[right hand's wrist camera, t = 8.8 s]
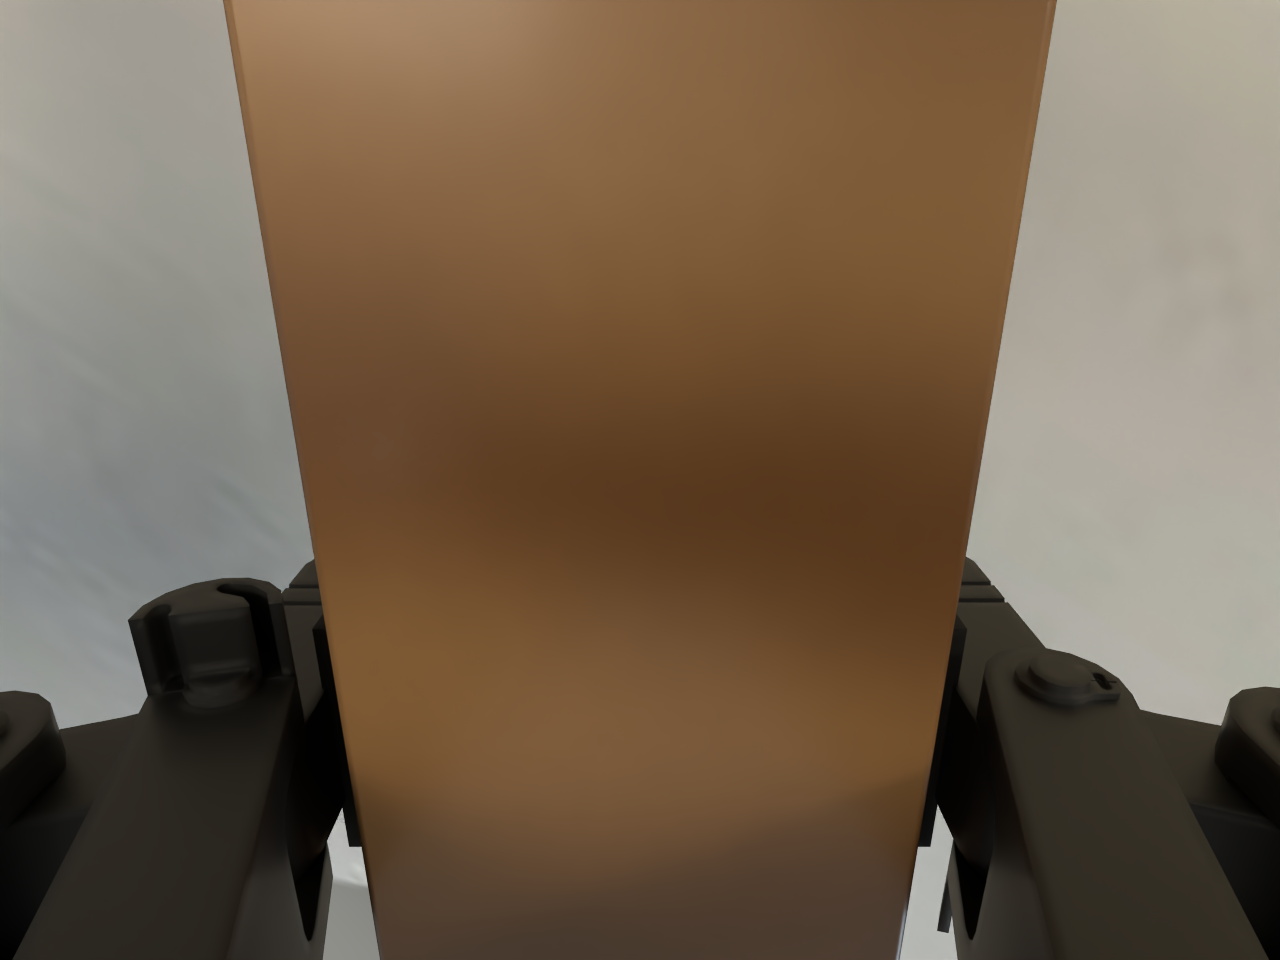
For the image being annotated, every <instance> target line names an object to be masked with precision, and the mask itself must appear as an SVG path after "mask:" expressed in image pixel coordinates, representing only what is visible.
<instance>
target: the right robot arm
mask: <svg viewBox="0 0 1280 960" xmlns="http://www.w3.org/2000/svg"><path fill="white" fill-rule="evenodd" d="M128 622H129V626H130V630H131V634H132V637H133V641H134V645H135V649H136V652H137V656H138V660H139V664H140V668H141V671H142V675H143V679H144V683H145V686H146V690H147V694H148V696H147V698H146V700H145V702H144V704H143V706H142V708H141V710H140V712H139V713H138V714H134V715H130V716H126V717H122V718H117V719H112V720H106V721H101V722H96V723H91V724H86V725H80V726H75V727H70V728H65V729H59V728H58V725H57V722H56V719H55V716H54V713H53V710H52V706H51V703H50V702H48V701H47V700H46V699H44V698H43V697H42V696H40V695H39V694H36V693H29V692H22V691H7V692H0V960H323V952H324V944H325V936H326V928H327V920H328V912H329V904H330V896H331V888H332V881H333V874H332V867H331V860H330V855H329V849H328V844H327V840H328V837H329V835H330V833H331V831H332V829H333V826H334V824H335V822H336V820H337V818H338V816H339V813H340V811H341V809H342V808H343V814H344V819H345V825H346V831H347V837H348V843H349V847H362V846H361V840H360V833H359V827H358V821H357V815H356V809H355V803H354V797H353V791H352V785H351V778H350V772H349V766H348V760H347V754H346V748H345V742H344V736H343V730H342V724H341V717H340V711H339V705H338V699H337V693H336V687H335V681H334V675H333V669H332V662H331V656H330V650H329V644H328V638H327V632H326V626H325V620H324V614H323V607H322V601H321V595H320V589H319V583H318V577H317V571H316V565H315V559H314V560H312V561H310V562H309V563H307V564H306V565H305V566H304V567H303V568H302V570H301V571H300V572H299V573H298V574H297V576H296V577H295V578H294V579H293V580H292V582H291V583H290V584H289V588H286V589H285V590H284V591H283V593H281V590H280V589H278V588H277V587H275V586H274V585H273V584H271V583H270V582H267V581H262V580H257V579H252V578H222V579H216V580H211V581H205V582H200V583H194V584H191V585H188V586H185V587H182V588H179V589H176V590H174V591H171V592H168V593H165V594H163V595H161V596H160V597H158V598H156V599H154V600H152V601H151V602H149V603H147V604H145V605H143V606H142V607H141V608H140V609H139V610H138V611H137V612H136V613H135V614H134V615H133V616H132V617H131V618H130V619H129V620H128ZM937 804H938V806H939V808H940V810H941V813H942V815H943V817H944V819H945V821H946V823H947V826H948V828H949V830H950V832H951V834H952V836H953V844H952V849H951V855H950V860H949V866H948V871H947V877H946V882H945V888H944V893H943V898H942V904H941V909H940V915H939V922H938V929H937V931H941V932H946V933H948V932H949V927H950V922H951V917H952V918H953V926H954V934H955V942H956V950H957V958H958V960H1280V688H1273V687H1259V688H1252V689H1245V690H1242V691H1240V692H1239V693H1238V694H1236V695H1235V696H1234V697H1232V698H1231V699H1230V701H1229V704H1228V707H1227V710H1226V713H1225V716H1224V720H1223V723H1222V726H1219V725H1214V724H1209V723H1204V722H1198V721H1193V720H1188V719H1183V718H1177V717H1172V716H1167V715H1161V714H1156V713H1152V712H1148V711H1144V710H1140V709H1139V707H1138V705H1137V703H1136V701H1135V699H1134V697H1133V695H1132V694H1131V692H1130V691H1129V690H1128V689H1127V688H1126V687H1125V685H1124V684H1123V683H1122V682H1121V681H1120V679H1119V678H1117V677H1116V676H1114V675H1113V674H1111V673H1110V672H1108V671H1106V670H1105V669H1103V668H1102V667H1100V666H1099V665H1097V664H1095V663H1093V662H1090V661H1088V660H1085V659H1083V658H1080V657H1078V656H1075V655H1073V654H1070V653H1065V652H1061V651H1056V650H1051V649H1047V648H1045V647H1044V645H1043V644H1042V643H1041V642H1040V640H1039V639H1038V638H1037V637H1036V636H1035V634H1034V633H1033V632H1032V631H1031V630H1030V628H1029V627H1028V626H1027V625H1026V624H1025V622H1024V621H1023V620H1022V619H1021V618H1020V616H1019V615H1018V614H1017V613H1016V612H1015V610H1014V609H1013V608H1012V607H1011V605H1010V604H1009V603H1005V601H1004V597H1003V596H1002V595H1001V593H1000V592H999V591H998V590H997V589H996V587H995V586H994V585H991V581H990V580H989V579H988V578H987V576H986V575H985V574H984V573H983V572H982V570H981V569H980V568H979V567H978V566H977V564H976V563H975V562H974V561H973V560H971V559H969V558H967V557H965V563H964V569H963V575H962V581H961V587H960V593H959V600H958V606H957V612H956V618H955V624H954V630H953V636H952V642H951V648H950V654H949V660H948V667H947V673H946V679H945V685H944V691H943V697H942V703H941V709H940V715H939V721H938V727H937V734H936V740H935V746H934V752H933V758H932V764H931V770H930V776H929V782H928V788H927V794H926V801H925V807H924V813H923V819H922V825H921V831H920V837H919V843H918V847H930V845H931V839H932V834H933V828H934V822H935V816H936V810H937Z"/></svg>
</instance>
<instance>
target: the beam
mask: <svg viewBox="0 0 1280 960" xmlns="http://www.w3.org/2000/svg"><path fill="white" fill-rule="evenodd" d="M223 3H224V9H225V15H226V21H227V27H228V33H229V39H230V46H231V52H232V58H233V64H234V70H235V76H236V82H237V88H238V94H239V101H240V107H241V113H242V119H243V125H244V131H245V137H246V143H247V149H248V155H249V162H250V168H251V174H252V180H253V186H254V192H255V198H256V204H257V210H258V217H259V223H260V229H261V235H262V241H263V247H264V253H265V259H266V265H267V272H268V278H269V284H270V290H271V296H272V302H273V308H274V314H275V320H276V326H277V333H278V339H279V345H280V351H281V357H282V363H283V369H284V375H285V381H286V388H287V394H288V400H289V406H290V412H291V418H292V424H293V430H294V436H295V443H296V449H297V455H298V461H299V467H300V473H301V479H302V485H303V491H304V498H305V504H306V510H307V516H308V522H309V528H310V534H311V540H312V546H313V553H314V559H315V565H316V571H317V577H318V583H319V589H320V595H321V601H322V607H323V614H324V620H325V626H326V632H327V638H328V644H329V650H330V656H331V662H332V669H333V675H334V681H335V687H336V693H337V699H338V705H339V711H340V717H341V724H342V730H343V736H344V742H345V748H346V754H347V760H348V766H349V772H350V778H351V785H352V791H353V797H354V803H355V809H356V815H357V821H358V827H359V833H360V840H361V846H362V852H363V858H364V864H365V870H366V876H367V882H368V888H369V894H370V901H371V907H372V913H373V919H374V925H375V931H376V937H377V943H378V950H379V955H380V960H899V959H900V953H901V947H902V941H903V935H904V928H905V922H906V916H907V910H908V904H909V898H910V892H911V886H912V880H913V874H914V868H915V861H916V855H917V849H918V843H919V837H920V831H921V825H922V819H923V813H924V807H925V801H926V794H927V788H928V782H929V776H930V770H931V764H932V758H933V752H934V746H935V740H936V734H937V727H938V721H939V715H940V709H941V703H942V697H943V691H944V685H945V679H946V673H947V667H948V660H949V654H950V648H951V642H952V636H953V630H954V624H955V618H956V612H957V606H958V600H959V593H960V587H961V581H962V575H963V569H964V563H965V557H966V551H967V545H968V539H969V533H970V526H971V520H972V514H973V508H974V502H975V496H976V490H977V484H978V478H979V472H980V466H981V459H982V453H983V447H984V441H985V435H986V429H987V423H988V417H989V411H990V405H991V399H992V392H993V386H994V380H995V374H996V368H997V362H998V356H999V350H1000V344H1001V338H1002V332H1003V325H1004V319H1005V313H1006V307H1007V301H1008V295H1009V289H1010V283H1011V277H1012V271H1013V264H1014V258H1015V252H1016V246H1017V240H1018V234H1019V228H1020V222H1021V216H1022V210H1023V204H1024V197H1025V191H1026V185H1027V179H1028V173H1029V167H1030V161H1031V155H1032V149H1033V143H1034V137H1035V130H1036V124H1037V118H1038V112H1039V106H1040V100H1041V94H1042V88H1043V82H1044V76H1045V70H1046V63H1047V57H1048V51H1049V45H1050V39H1051V33H1052V27H1053V21H1054V15H1055V9H1056V3H1057V0H223Z"/></svg>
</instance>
